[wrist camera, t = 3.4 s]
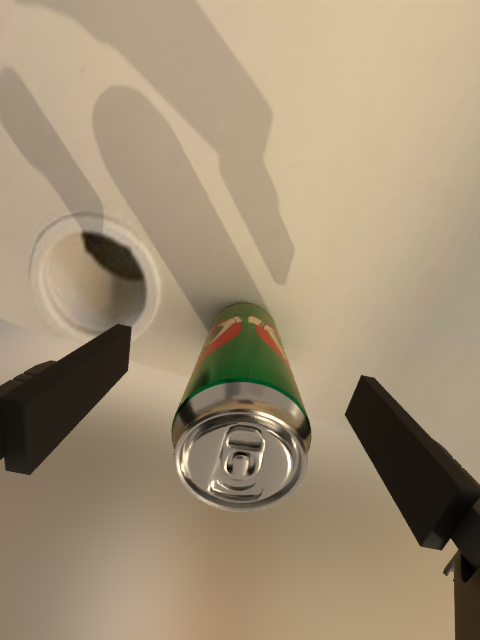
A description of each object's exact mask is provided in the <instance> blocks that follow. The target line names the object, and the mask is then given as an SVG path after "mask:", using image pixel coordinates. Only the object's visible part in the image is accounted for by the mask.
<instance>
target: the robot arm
mask: <svg viewBox="0 0 480 640" xmlns="http://www.w3.org/2000/svg"><path fill="white" fill-rule="evenodd" d="M131 328H132V327H130V326H125V325H120V324H117V325H115V326H113V327H112V328H110V329H109V330H107V331H105V332H104V333H102V334H101V335H99V336H97V337H96V338H94V339H93V340H91V341H89V342H88V343H86V344H84V345H83V346H81V347H80V348H78V349H77V350H75V351H73V352H72V353H70V354H68V355H67V356H65V357H64V358H62V359H60V360H59V361H57V362H56V361H48V362H45V363H41V364H38V365H36V366H34V367H32V368H31V369H29V370H27V371H25V372H24V373H23V374H20V375H18V376H16V377H15V378H14V379H13V380H9V381H8V382H6V383H4V384H2V385H1V386H0V460H1V459H2V458H3V457H4V459H5V469H6V471H11V472H16V473H22V474H27V475H30V474H31V473H32V472H33V471H34V470H35V469H36V468H37V467H38V466H39V465H40V464H41V463H42V462H43V461H44V459H46V457H47V456H48V455H49V454H50V453H51V452H52V451H53V450H54V449H55V448H56V447H57V446H58V445H59V443H60V442H61V441H62V440H63V439H64V438H65V437H66V436H67V435H68V434H69V433H70V432H71V431H72V430H73V429H74V427H75V426H76V425H77V424H78V423H79V422H80V421H81V420H82V419H83V418H84V417H85V416H86V415H87V414H88V413H89V412H90V410H91V409H92V408H93V407H94V406H95V405H96V404H97V403H98V402H99V401H100V400H101V399H102V398H103V397H104V396H105V395H106V393H107V392H108V391H109V390H110V389H111V388H112V387H113V386H114V385H115V384H116V383H117V382H118V381H119V380H120V379H121V377H122V376H123V375H124V374H125V373H126V372H127V371H128V364H129V352H130V340H131ZM345 416H346V418H347V419H348V421H349V423H350V425H351V426H352V428H353V430H354V432H355V433H356V435H357V437H358V439H359V440H360V442H361V444H362V446H363V447H364V449H365V451H366V452H367V454H368V456H369V458H370V459H371V461H372V463H373V464H374V466H375V468H376V470H377V472H378V473H379V475H380V477H381V479H382V480H383V482H384V484H385V486H386V487H387V489H388V491H389V492H390V494H391V496H392V498H393V500H394V501H395V503H396V505H397V506H398V508H399V510H400V511H401V513H402V515H403V517H404V519H405V520H406V522H407V524H408V526H409V527H410V529H411V531H412V533H413V534H414V536H415V538H416V540H417V541H418V543H419V545H420V546H421V547H427V548H432V549H437V550H442V549H443V548H444V546H445V545H446V544H447V542H448V541H449V539H450V538H451V539H452V540H453V542H454V543H455V545H456V546H457V548H458V549H459V550H458V551H457V553H456V554H455V555H454V556H453V558H452V559H451V560H450V562H449V563H448V564H447V566H446V567H445V569H444V572H443V573H444V574H445V575H446V576H447V575H448V574H449V573H450V572H454V580H453V581H454V599H455V640H480V485H479V484H478V483H477V481H476V480H474V478H473V477H472V476H471V475H470V474H469V473H468V472H467V471H466V470H465V469H464V468H462V467H461V465H460V464H459V463H458V462H457V461H456V460H455V459H453V457H452V456H451V455H450V454H449V453H448V451H447V450H446V449H445V448H444V447H443V446H442V445H440V444H439V443H438V442H436V441H435V440H434V439H432V438H431V437H430V436H429V435H428V434H427V433H426V432H425V431H424V430H423V429H422V428H421V427H420V425H419V424H418V423H417V422H416V421H415V420H414V419H413V418H412V417H411V416H410V415H409V414H408V413H407V412H406V411H405V410H404V409H403V408H402V407H401V405H400V404H399V403H398V402H397V401H396V400H395V399H394V398H393V397H392V396H391V395H390V394H389V393H388V392H387V391H386V390H385V389H384V388H383V387H382V386H381V384H380V383H379V382H378V381H377V380H376V379H375V378H372V377H368V376H363V375H361V377H360V379H359V382H358V384H357V387H356V389H355V391H354V394H353V396H352V398H351V401H350V403H349V406H348V408H347V410H346V413H345Z"/></svg>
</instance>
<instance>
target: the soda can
mask: <svg viewBox="0 0 480 640" xmlns="http://www.w3.org/2000/svg"><path fill="white" fill-rule="evenodd" d="M172 442H173V446H174V449H175V450H174V466H175V470H176V474H177V476H178V478H179V480H180V482H181V483H182V485H183V486H184V487H185V488H186V489H187V490H188V491H189V492H190V494H192V495H193V496H194V497H196V498H197V499H199V500H200V501H202V502H204V503H205V504H208V505H210V506H213V507H215V508H218V509H222V510H227V511H233V512H252V511H258V510H263V509H266V508H270V507H272V506H275V505H277V504H279V503H281V502H282V501H284V500H286V499H287V498H288V497H290V496H291V495H292V494H293V493H294V492H295V491H296V490H297V489H298V488H299V486H300V484H301V483H302V481H303V480H304V477H305V474H306V471H307V465H308V456H307V453H308V450H309V448H310V443H311V427H310V423H309V419H308V416H307V413H306V410H305V407H304V405H303V402H302V399H301V396H300V393H299V390H298V388H297V385H296V382H295V379H294V376H293V373H292V371H291V368H290V365H289V362H288V359H287V356H286V353H285V351H284V348H283V345H282V342H281V339H280V336H279V334H278V331H277V328H276V325H275V323H274V320H273V319H272V317H271V316H270V315H269V313H268V312H267V311H265V310H264V309H263V308H261V307H259V306H257V305H254V304H250V303H237V304H234V305H231V306H228V307H227V308H225V309H223V310H222V311H221V312H220V313H219V314H218V315H217V317H216V318H215V320H214V322H213V324H212V326H211V329H210V331H209V334H208V336H207V339H206V341H205V343H204V346H203V348H202V351H201V353H200V356H199V358H198V360H197V363H196V365H195V368H194V370H193V373H192V375H191V377H190V380H189V383H188V385H187V387H186V390H185V392H184V395H183V397H182V399H181V402H180V404H179V407H178V409H177V411H176V414H175V417H174V420H173V424H172Z"/></svg>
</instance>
